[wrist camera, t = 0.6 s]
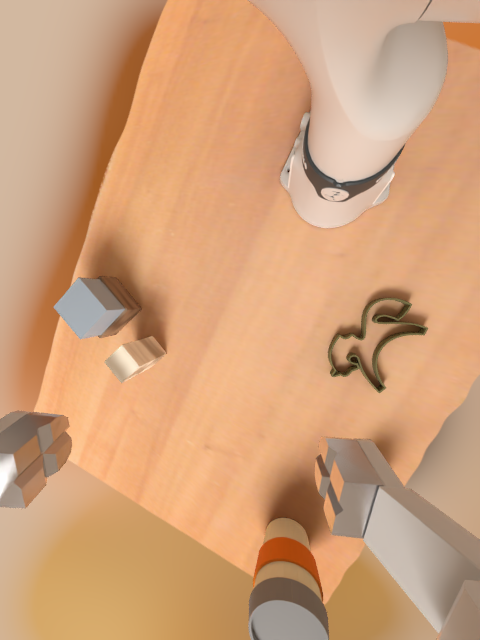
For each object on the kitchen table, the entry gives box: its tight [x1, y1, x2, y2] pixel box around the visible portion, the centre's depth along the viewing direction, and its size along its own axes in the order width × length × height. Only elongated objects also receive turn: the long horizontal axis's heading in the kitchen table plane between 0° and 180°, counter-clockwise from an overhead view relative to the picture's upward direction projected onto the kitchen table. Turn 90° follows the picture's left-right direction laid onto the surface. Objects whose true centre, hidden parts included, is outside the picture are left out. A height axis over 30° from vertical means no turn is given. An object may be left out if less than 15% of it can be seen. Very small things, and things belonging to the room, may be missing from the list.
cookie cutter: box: [328, 298, 428, 393], centre depth 43 cm, size 18×12×2 cm, turn 150°
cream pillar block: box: [105, 336, 167, 383], centre depth 47 cm, size 5×5×10 cm
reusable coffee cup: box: [249, 518, 329, 640], centre depth 43 cm, size 13×12×15 cm
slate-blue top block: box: [54, 278, 125, 339], centre depth 45 cm, size 8×8×5 cm
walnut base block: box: [97, 276, 142, 338], centre depth 50 cm, size 9×9×5 cm
